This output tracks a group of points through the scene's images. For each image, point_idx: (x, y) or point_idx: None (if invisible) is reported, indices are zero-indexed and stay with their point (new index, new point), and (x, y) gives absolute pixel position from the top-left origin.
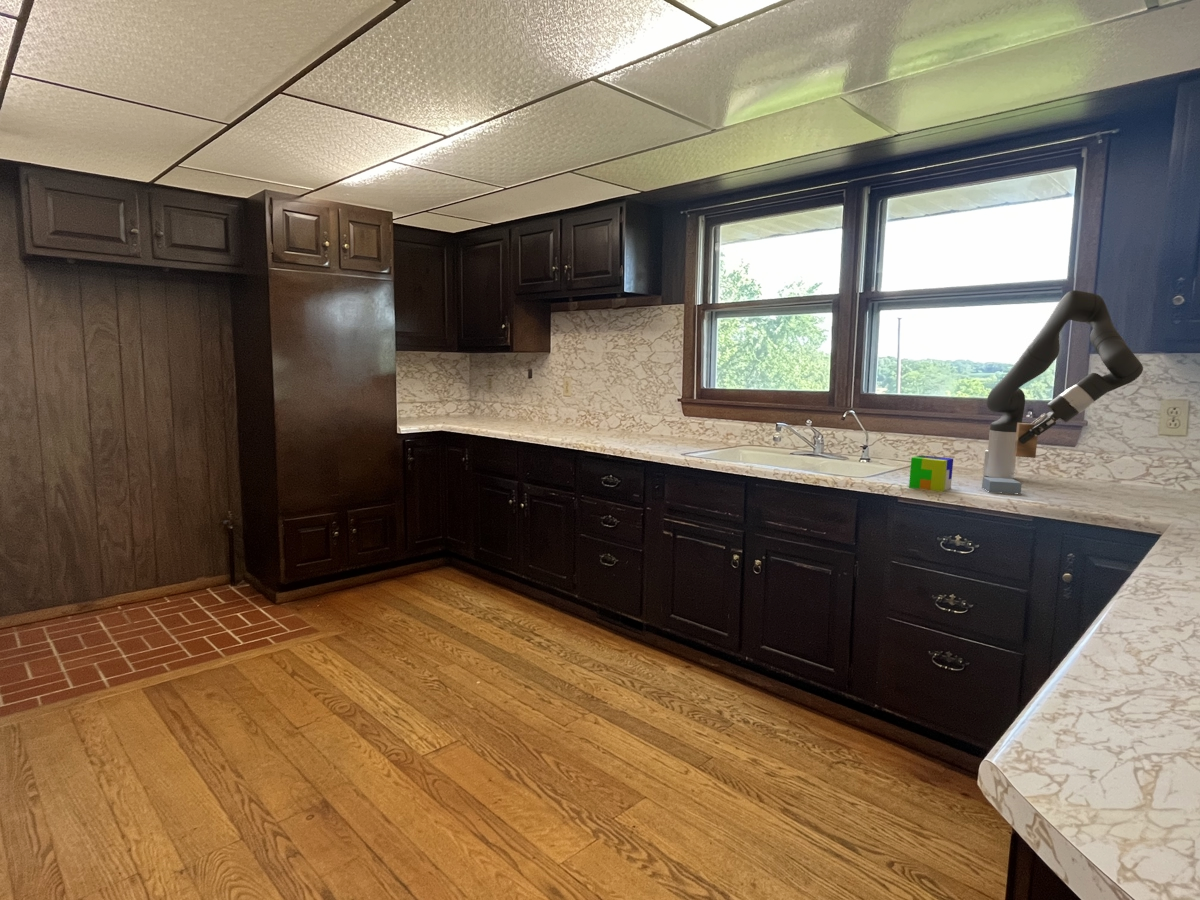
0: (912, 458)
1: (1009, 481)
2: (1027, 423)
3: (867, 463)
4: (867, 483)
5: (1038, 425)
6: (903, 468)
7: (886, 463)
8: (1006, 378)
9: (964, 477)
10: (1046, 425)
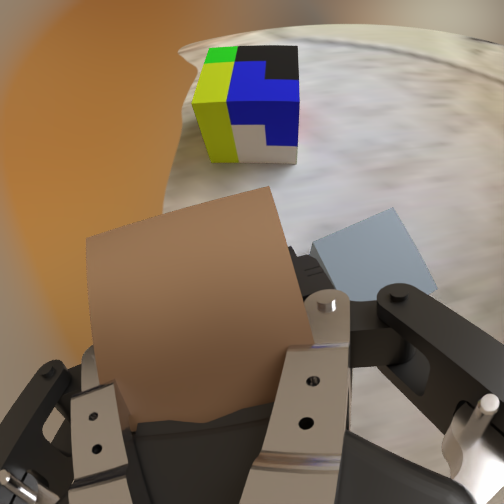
0: (208, 51)
1: (367, 292)
2: (231, 301)
3: (455, 36)
4: None
5: (13, 409)
6: (472, 72)
7: (487, 56)
8: None
9: (497, 166)
10: (43, 478)
